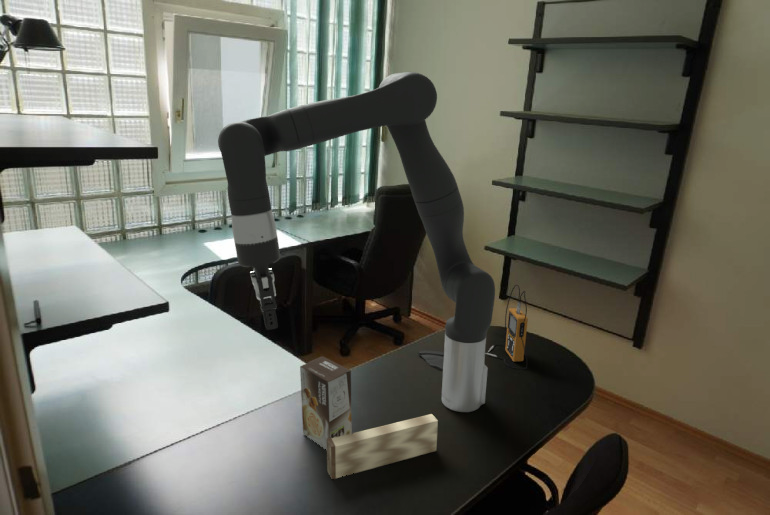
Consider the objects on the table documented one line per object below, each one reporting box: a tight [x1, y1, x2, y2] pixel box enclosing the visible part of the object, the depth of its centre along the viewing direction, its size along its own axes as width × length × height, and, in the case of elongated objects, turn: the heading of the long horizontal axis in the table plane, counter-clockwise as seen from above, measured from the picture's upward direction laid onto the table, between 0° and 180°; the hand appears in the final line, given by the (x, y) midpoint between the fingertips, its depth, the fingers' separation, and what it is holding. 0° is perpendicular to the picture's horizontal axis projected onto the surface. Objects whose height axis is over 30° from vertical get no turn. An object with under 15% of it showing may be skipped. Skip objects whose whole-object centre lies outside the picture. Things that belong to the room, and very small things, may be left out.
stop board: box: [326, 413, 439, 480], centre depth 100 cm, size 22×3×7 cm, turn 113°
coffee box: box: [299, 355, 353, 451], centre depth 105 cm, size 9×6×16 cm
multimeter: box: [485, 284, 529, 370], centre depth 140 cm, size 15×10×20 cm
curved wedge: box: [418, 350, 444, 372], centre depth 140 cm, size 8×14×2 cm, turn 46°
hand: (269, 320), depth 97 cm, fingers open, 8 cm apart
